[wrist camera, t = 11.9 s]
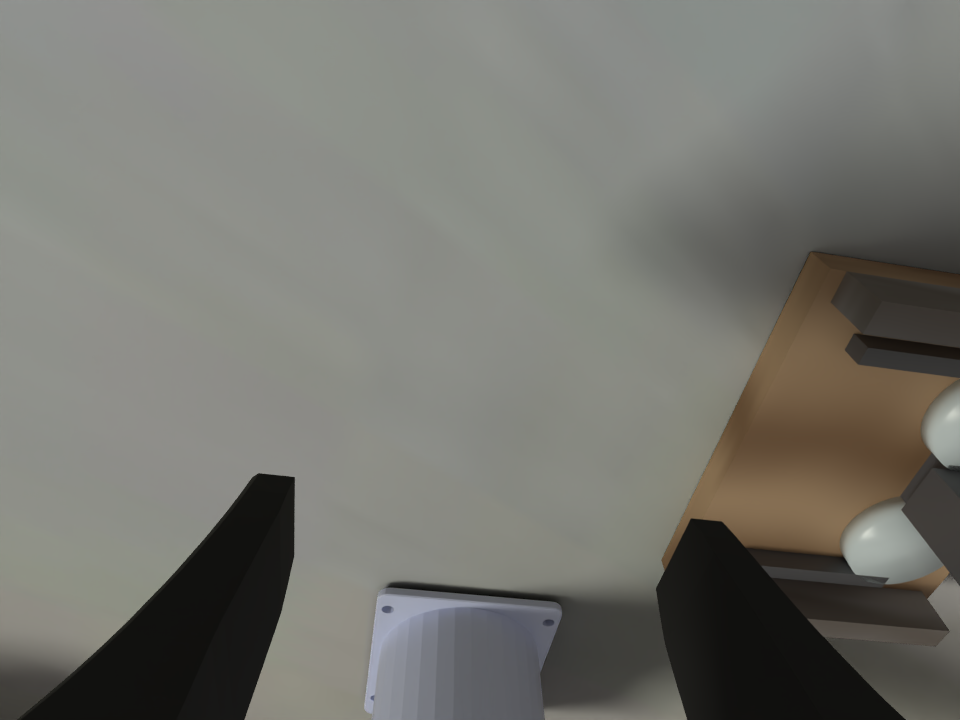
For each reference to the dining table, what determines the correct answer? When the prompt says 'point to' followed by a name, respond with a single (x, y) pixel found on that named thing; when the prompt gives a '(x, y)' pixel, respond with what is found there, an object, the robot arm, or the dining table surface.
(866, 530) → the spectacles
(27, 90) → the dining table surface
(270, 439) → the dining table surface
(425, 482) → the dining table surface
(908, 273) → the stand
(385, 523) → the dining table surface
